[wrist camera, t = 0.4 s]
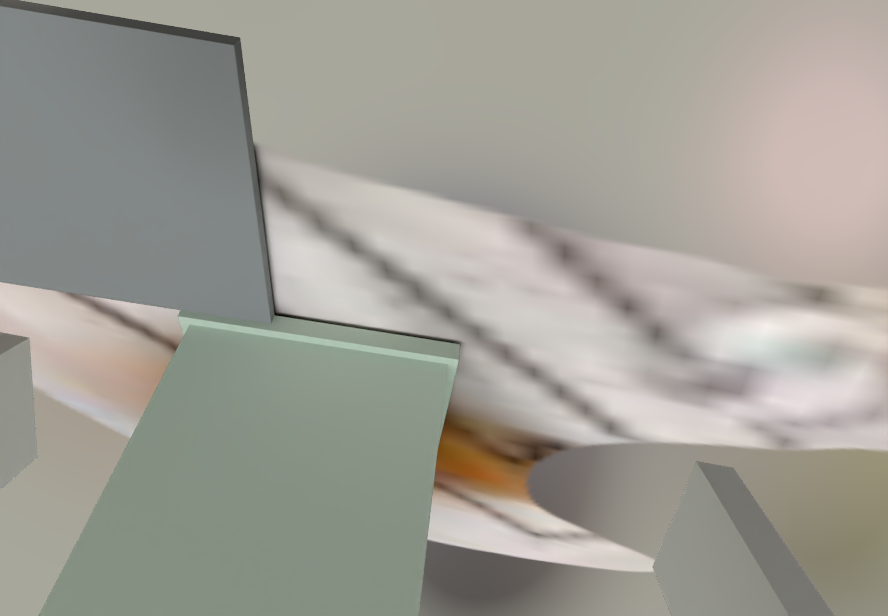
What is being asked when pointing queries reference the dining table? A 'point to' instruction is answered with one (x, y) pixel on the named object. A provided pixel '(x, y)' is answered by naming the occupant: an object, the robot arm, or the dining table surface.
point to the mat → (128, 163)
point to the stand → (270, 478)
